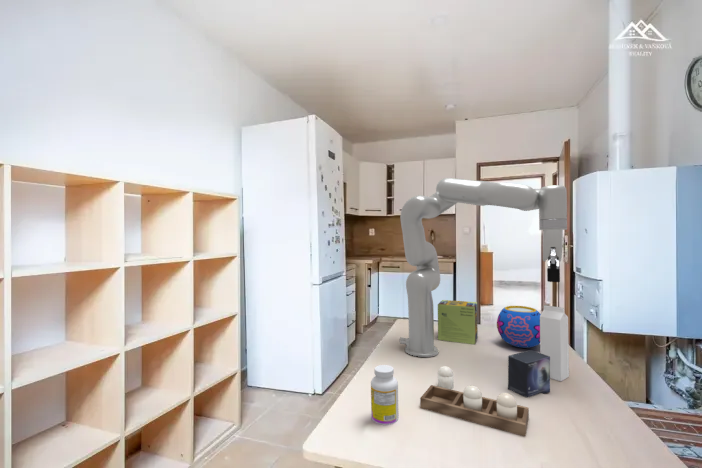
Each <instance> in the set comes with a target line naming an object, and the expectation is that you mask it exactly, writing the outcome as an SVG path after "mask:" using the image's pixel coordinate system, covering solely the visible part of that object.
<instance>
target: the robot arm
mask: <svg viewBox="0 0 702 468" xmlns="http://www.w3.org/2000/svg"><path fill="white" fill-rule="evenodd" d="M567 191H568V190H567V188H566V186H564V185H560V184H559V185H558V184H556V185H555V184H554V185H546V186H542V187H540V188H533V187H531V186H529V185H525V184H524V185H523V184H517V183H516V184H515V183H507V182H506V183H505V182H495V181H493V182H491V181H485V180H484V181H483V180H473V179H464V178H454V177H444V178H441V180H439V181H438V183H437V184H436V187H435V193H433V194H432V195H430V196H428V195H427V196H426V195H419V194H418V195H415V196H412V197H411V198H409V199H408V200H407V201H406V202H405V203H404V204H403V206H402V207H401V210H400V216H399V217H400V225H401V232H402V239H403V240H402V241H403V248H404V255H405V256H404V257H405V260H406V262H407V263H408V264H409V265H410V266H412V267H416V270H413V271H411V273H409V275H408V276H407V278H406V280H405V289H406V294H407V295H406V296H407V305H408V308H407V309H408V310H407V311H408V337H407V338H406V337H400V338H399V344H401V345H405V347H404V351H405V353H406V354H407V353H408V354H407V355H409V354H410V356H412V355H413V356H412V357H416V356H418V358H431V357H434V356H437V355H438V354H439V348H438V347H436V346H435V334H434V333H435V329H434V328H435V326H434V325H435V323H434V321H435V319H434V318H435V317H434V299H433V295H432V291H434V290H437V288H438V287H439V286H440V284H441V271H440V265H439V259H438V252H437V250H436V247H435V246H434V245H433V244H432V243H431V242H429V241H427V240H426V233H425V228H424V225H423V219H434V218H436V217H439V215H441V214H442V213H444V212H446V211H447V210H449V209H451V208H452V207H453V206H455V205H457V204H466V205H473V206H479V207H481V206H482V207H484V206H494V207H495V206H496V207H502V208H507V209H509V208H510V209H515V210H516V209H517V210H519V211H523V212H529V211H534V210H535V211H536V210H538V219H539V220H538V224H539V225H538V227H539V228H538V229H539V231H542V261H543V262H546V261H547V270H546V275H547V282H548V283H560V281H561V280H560V279H561V277H560V276H561V274H560V272H561V269H560V265H559V263H560V262H561V261H562V257H563V243H564V242H563V241H564V240H563V239H564V238H563V237H564V236H563V231H567V230H568V201H567V200H568V197H567V196H568V195H567V193H568V192H567Z"/></svg>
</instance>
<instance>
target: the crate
mask: <svg viewBox="0 0 702 468" xmlns="http://www.w3.org/2000/svg"><path fill="white" fill-rule="evenodd" d="M463 392H464V391H460V390H459V391H458V390H455V389H446V388H442V387H438V385H437V386H436V385H432V384H431V385H429V387H428V388H427V389H426V390H425V392H424V393H423V394H422V395H421V396H420V398H419V399H420V400H419V401H420V406H419V408H420V409H423V410H427V411H431V412H434V413H439V414H442V415H446V416H449V417H453V418H456V419H460V420H464V421H466V422H472V423H475V424H477V425H482V426H486V427H488V428H493V429H496V430H500V431H504V432H508V433H512V434H515V435H518V436H523V437H524V438H525V437H526V436H527V431H528V425H529V419H530V415H529V414H530V413H529V411H530V410H529V408H530V407H528V406H523V405H521V404H520V405H519V404H517V421H515V420H511V419H507V418H503V417H499V416H497V399H494V398H489V397H484V396H482V412H480V411H476V410H472V409H468V408H464V406H463Z"/></svg>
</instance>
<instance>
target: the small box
mask: <svg viewBox="0 0 702 468" xmlns="http://www.w3.org/2000/svg"><path fill="white" fill-rule="evenodd" d="M507 357H508V358H507V360H508V361H507V362H508V363H507V371H508V372H507V390H509V391H511V392H513V393H515V394H517V395H520V396H521V397H524V398H527V399H528V398H532V397H534V396H538V395H539V394H542V395H546V394H548V393H551V378H550V356H547V355H544V354H541V353H540V352H538V351H535V350H532V349H530V350H525V351H521V352H518V353H513V354H510V355H509V354H508V356H507Z"/></svg>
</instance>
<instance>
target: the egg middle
mask: <svg viewBox="0 0 702 468" xmlns="http://www.w3.org/2000/svg"><path fill="white" fill-rule="evenodd" d="M462 392H463V406H464V408H468V409H472V410H476V411H480V412H482V397H483V394H482V391H481V390H480V389H479V387H477V386H476V385H472V384H471V385H467V386H466V387H465V388H464V390H463V391H462Z"/></svg>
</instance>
